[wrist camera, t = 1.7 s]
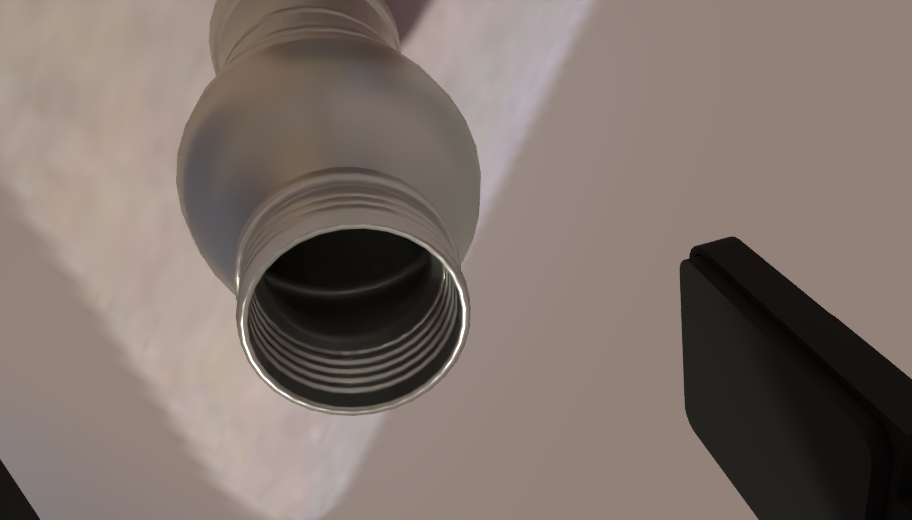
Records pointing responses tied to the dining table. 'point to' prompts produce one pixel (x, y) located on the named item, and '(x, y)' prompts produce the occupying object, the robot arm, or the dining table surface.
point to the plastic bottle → (332, 202)
